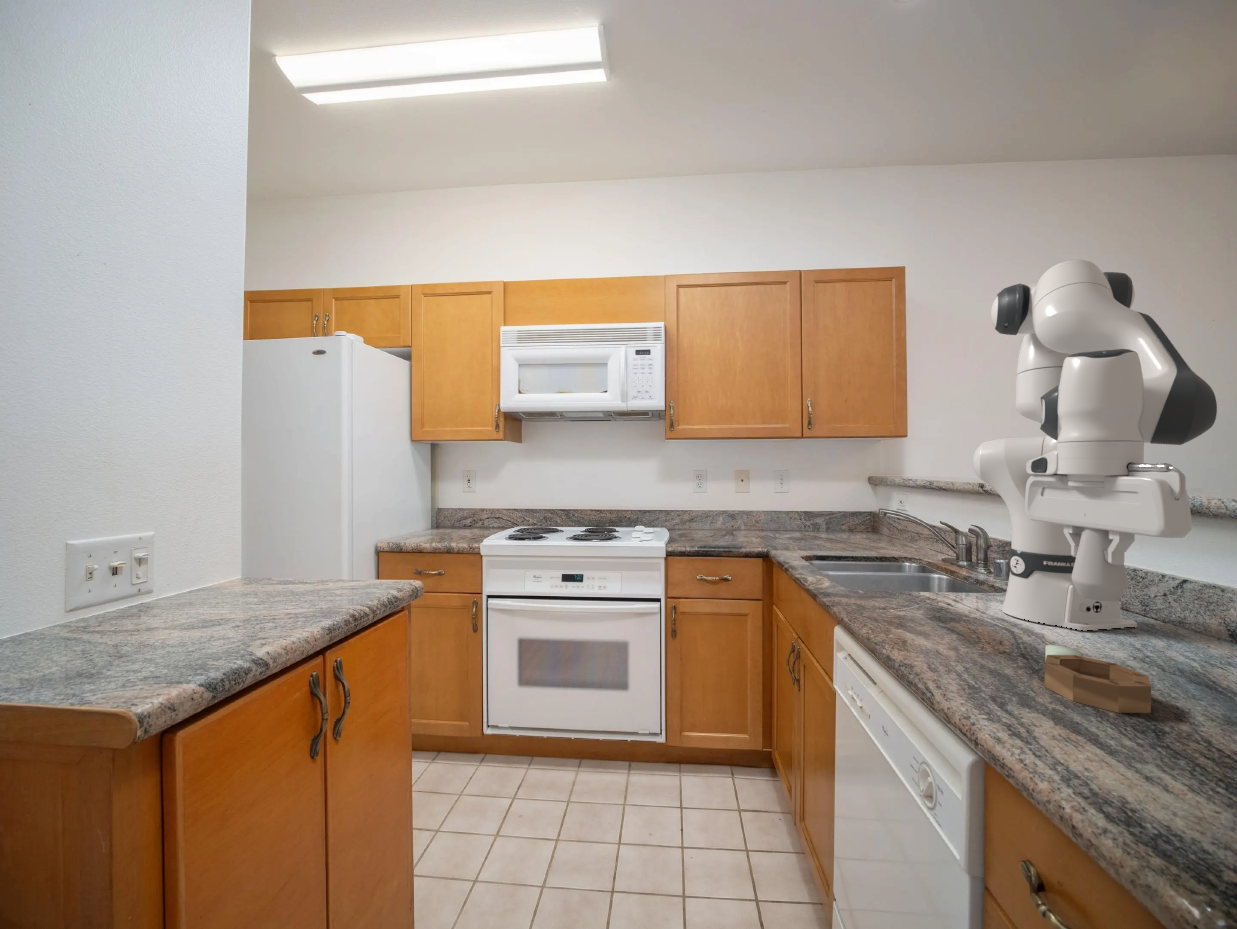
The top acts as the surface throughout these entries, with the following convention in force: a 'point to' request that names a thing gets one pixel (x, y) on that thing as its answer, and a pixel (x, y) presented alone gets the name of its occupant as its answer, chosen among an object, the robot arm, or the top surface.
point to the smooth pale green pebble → (1061, 651)
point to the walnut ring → (1098, 683)
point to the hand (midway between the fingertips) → (1096, 560)
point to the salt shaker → (1097, 568)
